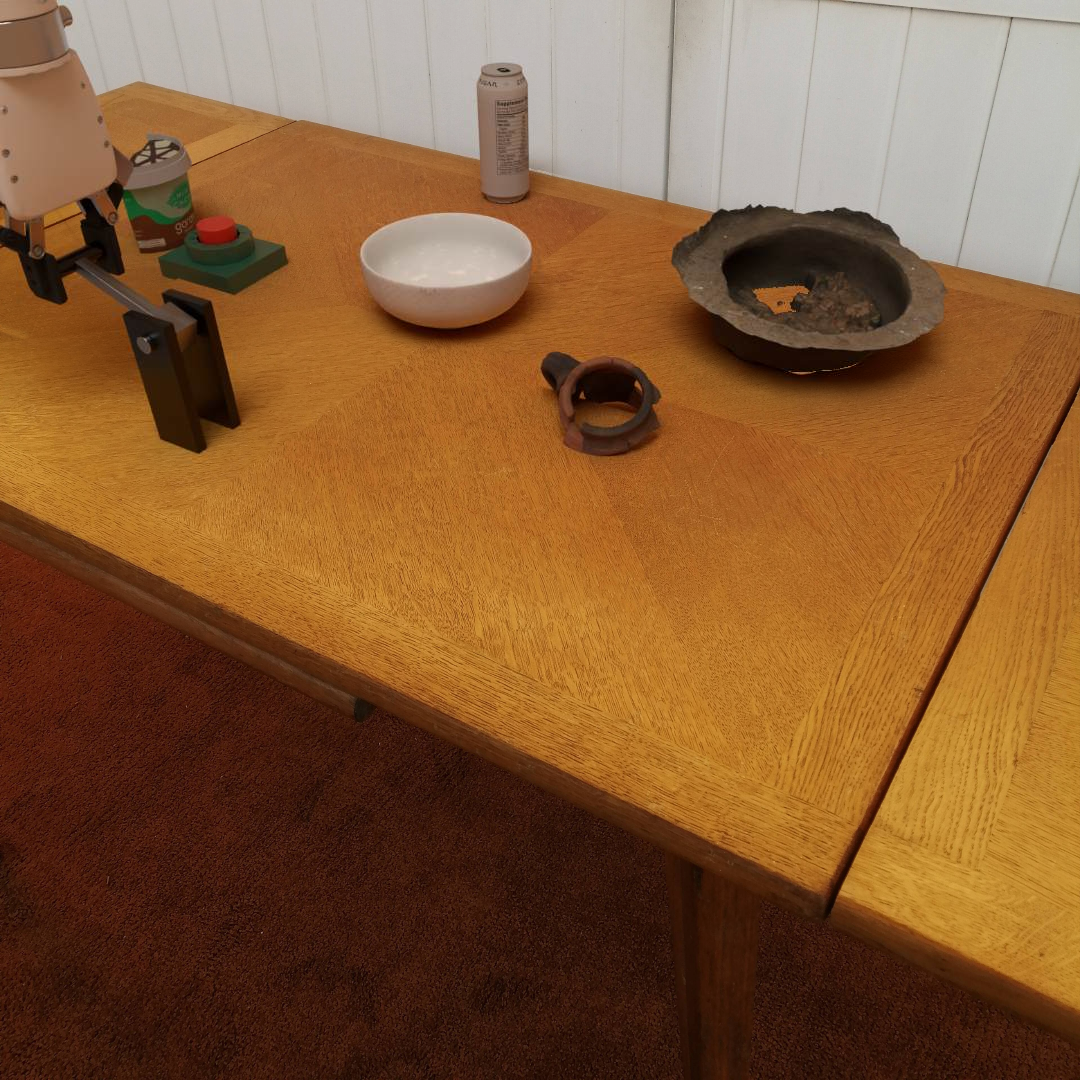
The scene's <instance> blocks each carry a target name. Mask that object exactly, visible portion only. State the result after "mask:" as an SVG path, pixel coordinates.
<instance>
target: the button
mask: <svg viewBox="0 0 1080 1080" xmlns="http://www.w3.org/2000/svg"><path fill="white" fill-rule="evenodd" d="M235 223H236V221H235V220H234V218H232V217H230V216H226V215H215V216H214V215H213V216H209V217H205V218H202V219H201V220H199V221H197V222H196V229H197V232H198V236H199V240H200V243H202V244H206V245H220V244H224V243H229V242H232V241H234V240H236V239H237V238H238V235H237V230H236V226H235Z"/></svg>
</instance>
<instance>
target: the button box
mask: <svg viewBox="0 0 1080 1080" xmlns="http://www.w3.org/2000/svg"><path fill="white" fill-rule="evenodd" d="M235 226H236V230H237V235H238V238H237V239H236V240H234V241H232V242H229V243H224V244H220V245H206V244H202V243H200V240H199V236H198V232H197V228H196V229H195V230H193V231H191V232H189V233H188V234H187V236H186V237H185V239H184V242H185V244H184V245H182V246H180V247H178V248H175V249H171V250H169V251H167V252H166V253H164V254H163V255H161V256H158V257H157V260H158V264H159V267H160V271H161V275H162V277H164V278H168V279H171V280H174V281H176V280H178V279H179V280H181V281H185V282H189V283H192V284H196V285H198V286H202V287H205V288H208V289H212V290H214V291H215V290H216V291H219V292H222V293H225V294H229V295H233V296H235V295H236V294H238V293H240V292H242V291H244V290H246V289H247V288H248V287H249V288H250V287H251V286H252V285H254V284H256V283H257V282H259V281H261V280H263V279H264V278H266V277H268V276H269V275H271V274H273V273H275V272H276V271H279V270H280V269H282V268H283V267H285V266H287V265H288V263H289V262H288V256H287V252H286V246H285V245H283V244H280V243H276V242H272V241H268V240H265V239H261V238H257V237H254V235H253V232H252V230H251V229H250V228H249V227H248V226H247V225H243V224H239V223H236V222H235Z"/></svg>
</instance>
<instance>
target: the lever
mask: <svg viewBox="0 0 1080 1080" xmlns="http://www.w3.org/2000/svg"><path fill="white" fill-rule="evenodd" d="M106 256H107V252H106V249H105V247H104V246H103V244H102V243H101V242H99V241H93V242H91V243H89V244H87V245H82V246H81V247H78V248H76V249H74V250H71V251H70V252H68V253H66V254H63V255H61V256H59V257H56V258H55V259H56V262H57V265H58V268H59V271H60V275H61V278H62V279H64V278H66V277H68V276H70V275H73V274H74V273H76V274H77V275H79V276H81V277H82V278H83V279H85V280H86V281H88V282H89V283H90V284H92V285H93V286H95V287H96V288H98V289H99V290H101V291H102V292H103V293H105V294H106V295H108V297H111V298H112V299H113V300H115V301H116V302H118V303H119V304H121V305H122V306H124V307H125V308H127V309H128V311H130V310H134V311H137V312H141V313H144V314H147V315H150V316H153V317H156V318H159V319H162V320H166V321H169V322H172V323H173V324H174V328H175V332H176V335H177V339H178V343H179V346H180V350H181V352H183V351H185V350H186V349H188V348H190V347H191V346H193V345H195V344H196V337H197V320H196V319H194V318H193V317H191V316H190V315H189V314H187V313H186V312H184V311H183V310H181V309H180V308H178V307H177V306H176V305H174V304H173V303H171V302H168V303H166V304H164V303H163V305H161V306H158V305H156V304H154V303H153V302H151V301H150V300H149V299H147V298H145V297H144V296H143V295H141V294H139V293H138V292H136V291H135V290H134V289H133V288H131V287H130V286H128V285H127V284H125V283H124V282H123V281H121V280H120V279H118V278H117V277H115V276H113V274H110V273H108V272H106V271H105V270H103V269H102V268H100V267H99V266H98V265H96V264H95V262H97V261H99V260H101V259H103V258H105V257H106Z"/></svg>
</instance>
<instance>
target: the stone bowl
mask: <svg viewBox="0 0 1080 1080" xmlns="http://www.w3.org/2000/svg"><path fill="white" fill-rule="evenodd" d="M670 260H671V261H670V263H671V266H673V268H674V269H675V270H676V271H677V273H678V275H679V278H680V281H681V283H683V285H684V286H685V287H686V288H687V292H688V297H689V298H690V299H691V300H693V301H694V302H695V303H697V304H698V305H700V306H701V307H703V308H704V309H706V311H707V313H708V317H709V322H710V327H711V332H712V333H713V335H714V337H715V339H716V341H718V343H719V342H720V343H719V344H720V345H721V346H722V347H724V348H726V349H729V350H731V352H732V353H733V354H734V355H735V356H737V357H738V358H739V357H740V359H741V358H742V359H741V360H744V361H749V362H750V363H753V362H754V363H755V362H756V363H761V364H764V365H766V366H770V367H772V368H776V369H780V370H783V371H785V370H786V371H785V372H788V371H791V372H813V371H819V372H821V371H822V370H834V369H835V370H836V369H840V368H844V367H848V366H852V365H854V364H856V363H858V362H859V363H861V362H862V361H863V360H864V359H865V358H867V357H869V356H870V355H872V354H874V353H875V352H877V351H878V350H883V349H891V348H896V347H900V346H904V345H907V344H910V343H911V342H913V341H916V339H917V338H920V336H921V335H924V334H928V333H929V332H930V331H931V330H933V328H935V327H937V326H940V325H941V322H942V321H943V319H944V314H945V305H944V303H943V301H944V296H945V295H946V294H947V293H948V292H949V291H948V289H947V287H946V286H945V283H944V282H943V280H942V278H941V277H940V275H939V273H938V272H937V270H936V268H935V267H934V266H933V265H931V264H930V263H929V262H927V261H926V260H924V259H922V258H921V257H920V256H919V255H918V254H917V253H916V252H914V251H913V250H911V249H909V247H907V246H903V244H901V239H900V236H898V234H897V233H896V232H895V230H894V229H893V227H892V226H891V224H889V223H885V222H882V221H881V220H880V219H879V218H878V219H877V218H875V217H874V216H872V215H871V213H869V212H866V211H863V210H852V209H849V208H848V207H845V206H842V207H834V208H833V210H830V209H825V210H814V211H808V212H805V213H801V212H795V211H794V208H791V209H787V208H786V207H779V206H777V205H770V206H769V205H767V206H763V205H762V204H760V203H759V204H758V205H756V206H755V207H753V206H752V203H749V204H748V205H746V206H745V207H744V208H734V209H730V210H728V209H724V208H719V209H718V210H717V211H715V212H714V213H712V215H711V217H710V219H708V220H707V221H706V223H705V224H704V225H701V226H699V229H698V230H695V231H694V232H692V233H690V234H688V235H687V236H682V238H681V241H678V242H677V243H676V244H675V246H673V249H672V253H671V259H670ZM794 285H795V286H798V285H799V286H804V287H805V288H807V289H808V290H809V292H808V294H807V295H806V294H804V293H800V292H799V293H797V295H796V296H794V298H793V301H792V302H790V305H791V309H792V310H794V311H795V310H796V312H792V311H788V312H783V313H782V312H781V313H777V314H774V312H773V311H772V310H771V308H770V307H769V306H768V305H767V304H765V303H763V302H760V301H759V300H758V299H757V298H756V297H757V295H756V294H755V293H753V291H754V290H755V289H759V288H760V289H761V288H764V289H765V288H773V287H776V288H778V287H786V286H794ZM752 290H753V291H752ZM783 303H784V304H785V302H782V301H779V302H777V305H778V306H780V305H782V304H783ZM846 332H847V333H846ZM861 360H862V361H861ZM859 363H858V364H859ZM856 365H857V364H856ZM836 371H837V370H836Z"/></svg>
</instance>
